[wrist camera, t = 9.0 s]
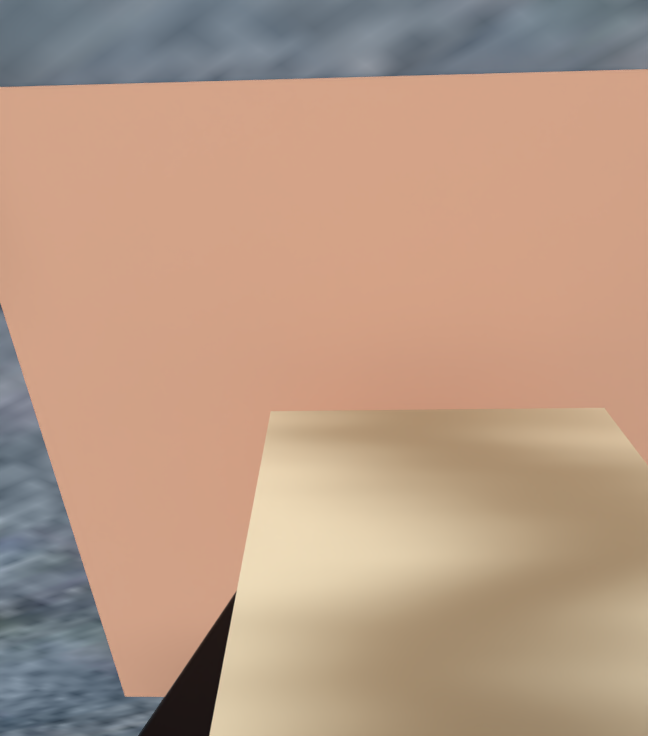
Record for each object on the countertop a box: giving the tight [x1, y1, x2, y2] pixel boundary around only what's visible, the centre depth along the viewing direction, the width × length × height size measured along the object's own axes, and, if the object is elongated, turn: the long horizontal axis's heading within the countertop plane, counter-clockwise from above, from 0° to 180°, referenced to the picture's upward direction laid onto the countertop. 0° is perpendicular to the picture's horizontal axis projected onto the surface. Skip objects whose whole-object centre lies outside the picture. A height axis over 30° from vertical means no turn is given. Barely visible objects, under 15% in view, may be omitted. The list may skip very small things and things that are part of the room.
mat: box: [0, 69, 648, 697], centre depth 11 cm, size 14×14×1 cm
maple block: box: [209, 408, 648, 736], centre depth 7 cm, size 5×5×6 cm
